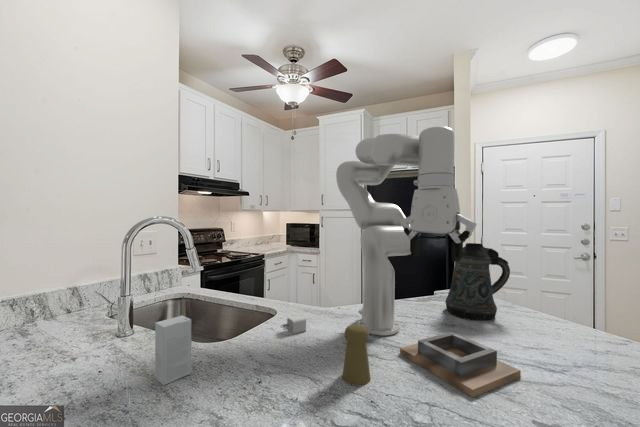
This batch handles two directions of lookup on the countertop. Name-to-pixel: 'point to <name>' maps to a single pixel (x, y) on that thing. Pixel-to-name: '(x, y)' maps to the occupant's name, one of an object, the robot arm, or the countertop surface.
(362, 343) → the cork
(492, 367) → the shaker holder
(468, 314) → the beer stein
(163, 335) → the skincare box
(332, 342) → the countertop surface
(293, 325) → the usb wall charger
